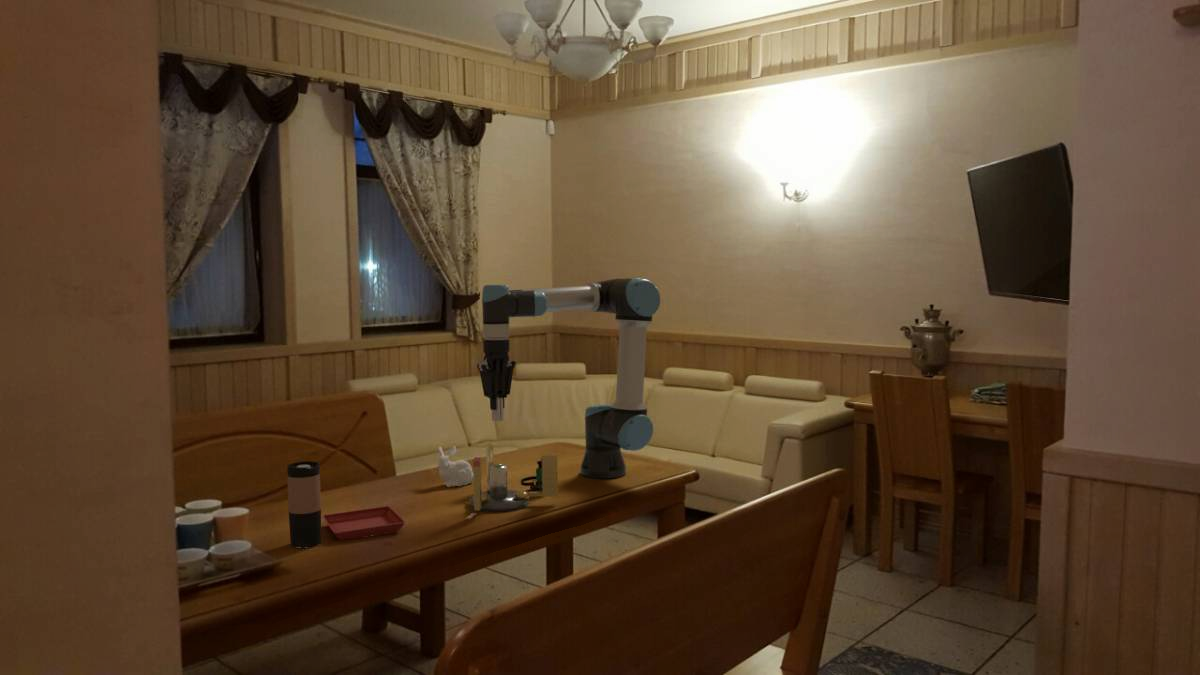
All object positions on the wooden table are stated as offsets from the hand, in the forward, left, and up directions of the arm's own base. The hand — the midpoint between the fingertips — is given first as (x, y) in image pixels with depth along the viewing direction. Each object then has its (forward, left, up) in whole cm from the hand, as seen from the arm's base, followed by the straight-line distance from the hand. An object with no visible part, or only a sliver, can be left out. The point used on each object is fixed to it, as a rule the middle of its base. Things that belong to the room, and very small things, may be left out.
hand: (497, 420), depth 251 cm
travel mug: (+32, +47, -25) cm, 62 cm away
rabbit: (+23, -18, -25) cm, 38 cm away
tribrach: (-4, +1, -24) cm, 25 cm away
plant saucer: (+25, +32, -25) cm, 48 cm away
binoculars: (-6, -15, -25) cm, 30 cm away
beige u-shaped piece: (+2, +10, -22) cm, 25 cm away
